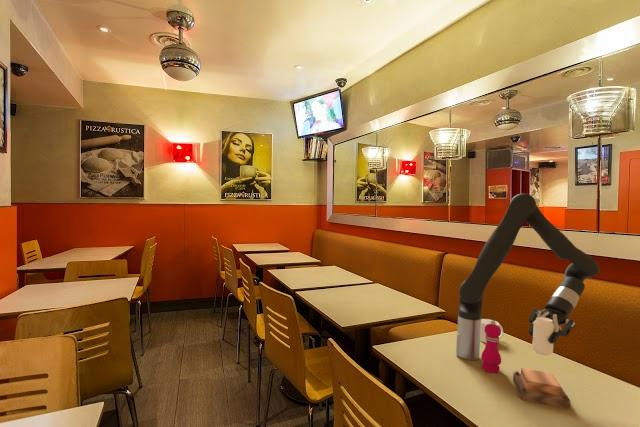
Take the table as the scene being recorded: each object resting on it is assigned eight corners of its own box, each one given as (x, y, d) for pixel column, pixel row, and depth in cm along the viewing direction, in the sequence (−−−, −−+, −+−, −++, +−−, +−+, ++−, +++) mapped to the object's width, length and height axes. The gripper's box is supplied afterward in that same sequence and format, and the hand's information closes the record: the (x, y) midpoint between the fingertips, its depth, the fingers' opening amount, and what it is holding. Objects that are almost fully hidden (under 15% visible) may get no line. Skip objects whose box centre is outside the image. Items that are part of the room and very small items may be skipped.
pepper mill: (499, 367, 141) (501, 319, 140) (502, 375, 134) (505, 324, 133) (479, 364, 143) (482, 316, 142) (481, 371, 136) (484, 321, 136)
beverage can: (530, 352, 121) (532, 318, 121) (533, 347, 126) (536, 315, 125) (551, 358, 117) (553, 323, 117) (554, 352, 122) (556, 319, 121)
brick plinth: (520, 399, 117) (521, 382, 117) (513, 380, 130) (513, 364, 130) (569, 409, 112) (570, 391, 112) (556, 388, 126) (557, 372, 125)
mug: (480, 343, 165) (481, 324, 165) (475, 336, 174) (476, 318, 174) (507, 345, 164) (508, 326, 163) (500, 338, 173) (501, 320, 172)
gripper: (538, 290, 130) (516, 324, 126) (580, 301, 117) (557, 339, 113) (546, 303, 133) (524, 337, 128) (588, 315, 120) (566, 353, 115)
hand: (540, 338), depth 120 cm, fingers closed on beverage can, 6 cm apart
